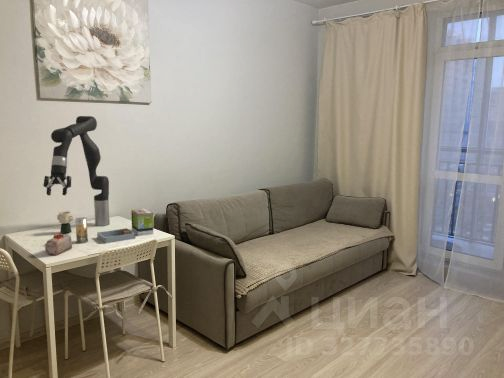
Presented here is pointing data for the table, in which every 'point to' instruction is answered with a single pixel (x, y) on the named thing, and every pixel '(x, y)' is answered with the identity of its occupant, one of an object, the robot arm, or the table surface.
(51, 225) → the table surface
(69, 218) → the character mug
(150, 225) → the tea box
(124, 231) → the walnut block
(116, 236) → the tote
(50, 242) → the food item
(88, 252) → the table surface
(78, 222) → the tin can
